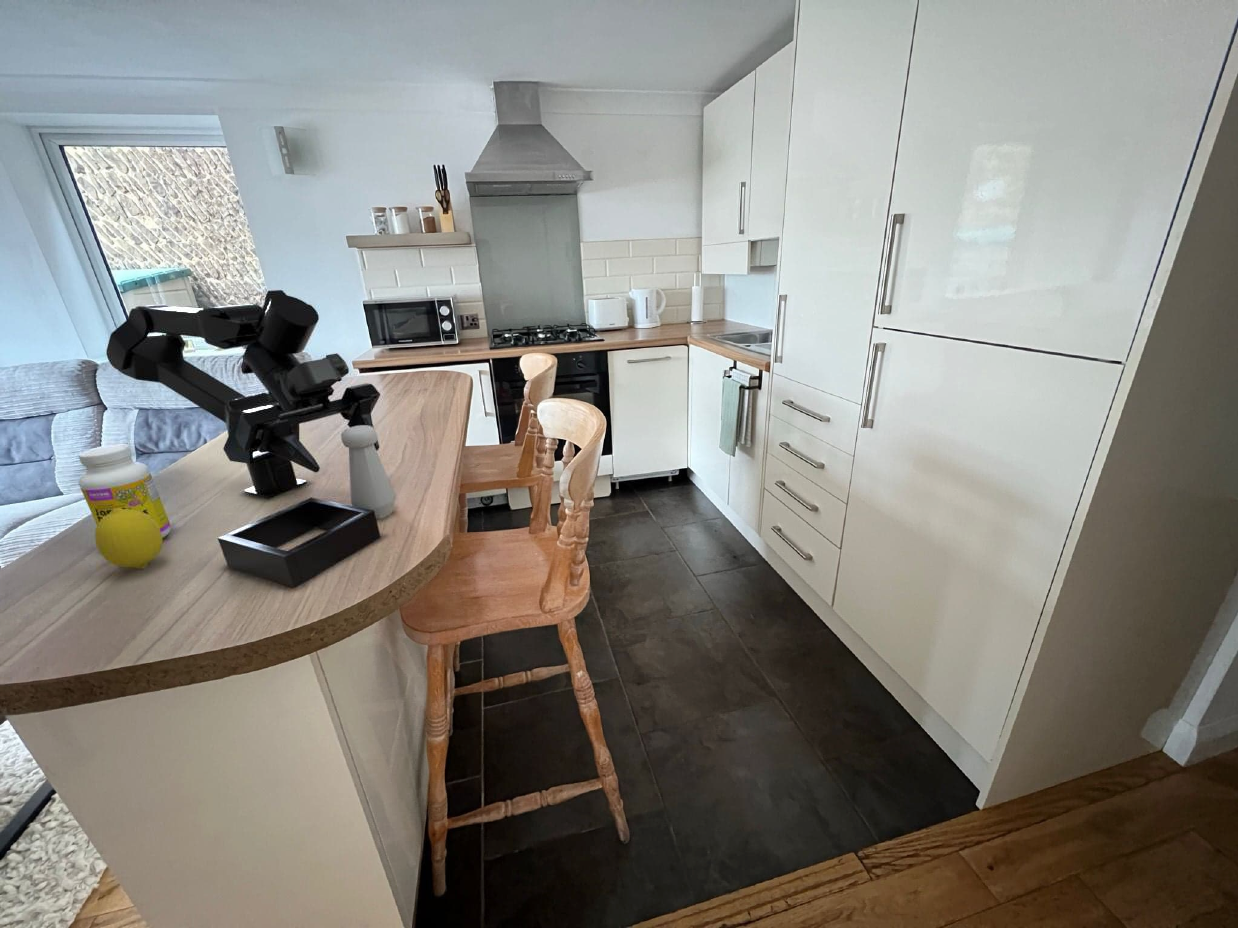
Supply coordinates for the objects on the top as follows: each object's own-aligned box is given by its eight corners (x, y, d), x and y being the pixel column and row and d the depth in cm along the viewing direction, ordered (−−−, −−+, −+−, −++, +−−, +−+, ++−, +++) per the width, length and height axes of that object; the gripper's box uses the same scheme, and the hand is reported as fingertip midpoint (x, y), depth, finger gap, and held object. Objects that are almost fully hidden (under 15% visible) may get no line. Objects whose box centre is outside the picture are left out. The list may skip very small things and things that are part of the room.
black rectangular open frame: (227, 567, 61) (217, 537, 59) (318, 522, 71) (311, 497, 69) (294, 588, 56) (284, 557, 55) (380, 537, 66) (374, 510, 65)
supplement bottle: (99, 557, 64) (54, 463, 59) (118, 535, 70) (78, 447, 65) (165, 543, 67) (128, 452, 62) (179, 523, 72) (145, 438, 68)
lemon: (136, 557, 64) (111, 500, 61) (182, 554, 64) (159, 497, 61) (98, 582, 58) (68, 521, 56) (148, 579, 59) (121, 517, 56)
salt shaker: (393, 520, 71) (373, 432, 66) (349, 525, 70) (326, 436, 65) (402, 503, 76) (384, 420, 71) (362, 507, 75) (341, 423, 70)
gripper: (218, 347, 60) (296, 447, 59) (359, 329, 75) (423, 408, 74) (207, 404, 67) (277, 495, 66) (338, 377, 82) (397, 451, 81)
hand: (349, 459), depth 72 cm, fingers open, 9 cm apart
